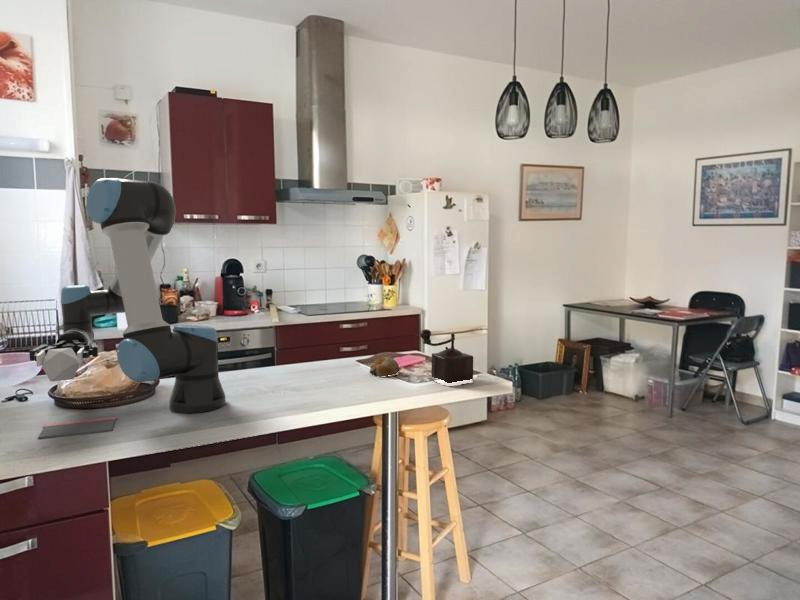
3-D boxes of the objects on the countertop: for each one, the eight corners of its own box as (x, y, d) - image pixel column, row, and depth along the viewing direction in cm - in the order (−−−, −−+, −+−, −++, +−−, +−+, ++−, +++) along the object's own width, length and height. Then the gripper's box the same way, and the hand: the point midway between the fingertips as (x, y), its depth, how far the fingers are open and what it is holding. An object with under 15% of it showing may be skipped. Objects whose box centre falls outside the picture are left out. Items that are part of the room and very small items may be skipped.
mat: (114, 421, 152) (114, 419, 152) (112, 430, 144) (112, 429, 144) (44, 428, 146) (44, 427, 146) (37, 439, 138) (37, 437, 138)
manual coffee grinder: (454, 376, 202) (454, 325, 200) (473, 383, 193) (475, 330, 191) (416, 382, 194) (417, 329, 192) (435, 389, 185) (436, 333, 183)
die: (82, 376, 153) (58, 347, 153) (92, 364, 148) (68, 335, 147) (54, 393, 147) (29, 364, 146) (63, 382, 142) (37, 351, 141)
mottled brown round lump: (393, 388, 200) (403, 367, 199) (366, 375, 200) (376, 354, 199) (394, 381, 210) (403, 361, 209) (368, 368, 210) (377, 349, 209)
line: (117, 417, 155) (117, 416, 155) (117, 419, 153) (117, 419, 153) (44, 425, 148) (44, 424, 148) (42, 427, 146) (42, 426, 146)
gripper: (114, 354, 168) (107, 370, 147) (31, 359, 160) (10, 378, 139) (113, 328, 167) (105, 341, 146) (29, 332, 159) (7, 347, 138)
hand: (58, 359), depth 143 cm, fingers closed on die, 8 cm apart
